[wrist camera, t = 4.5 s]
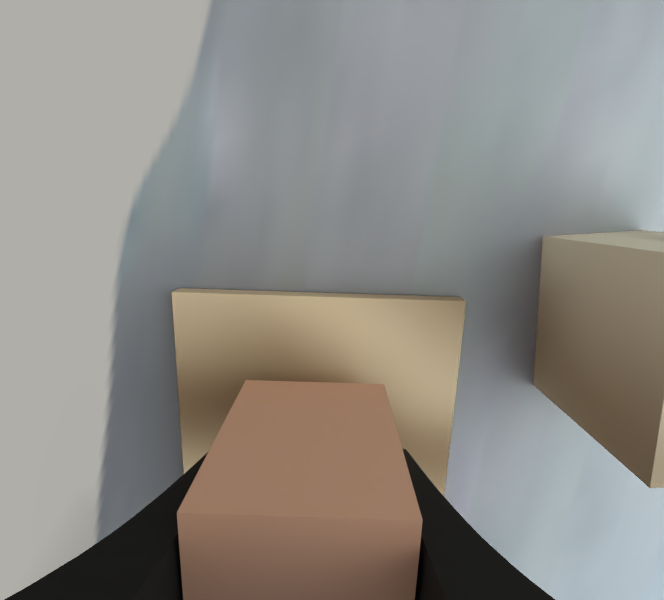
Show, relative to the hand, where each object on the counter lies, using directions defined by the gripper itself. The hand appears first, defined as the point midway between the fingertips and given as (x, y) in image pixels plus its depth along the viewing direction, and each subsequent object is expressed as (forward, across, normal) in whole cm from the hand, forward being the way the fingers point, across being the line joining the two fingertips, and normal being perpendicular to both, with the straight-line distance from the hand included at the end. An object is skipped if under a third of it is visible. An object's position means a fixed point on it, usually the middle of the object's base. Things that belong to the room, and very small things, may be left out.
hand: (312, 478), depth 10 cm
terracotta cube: (+1, 0, 0) cm, 1 cm away
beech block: (+1, -7, -4) cm, 8 cm away
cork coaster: (+3, 0, 0) cm, 3 cm away
